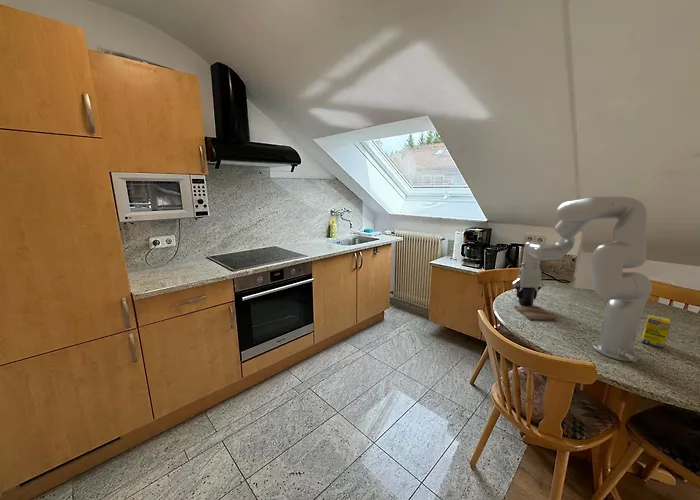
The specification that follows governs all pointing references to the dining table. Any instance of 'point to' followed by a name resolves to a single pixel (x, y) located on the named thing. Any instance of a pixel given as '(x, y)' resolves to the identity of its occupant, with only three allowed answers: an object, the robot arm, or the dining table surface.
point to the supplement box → (655, 331)
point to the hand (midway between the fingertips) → (526, 297)
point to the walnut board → (534, 313)
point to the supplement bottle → (527, 296)
